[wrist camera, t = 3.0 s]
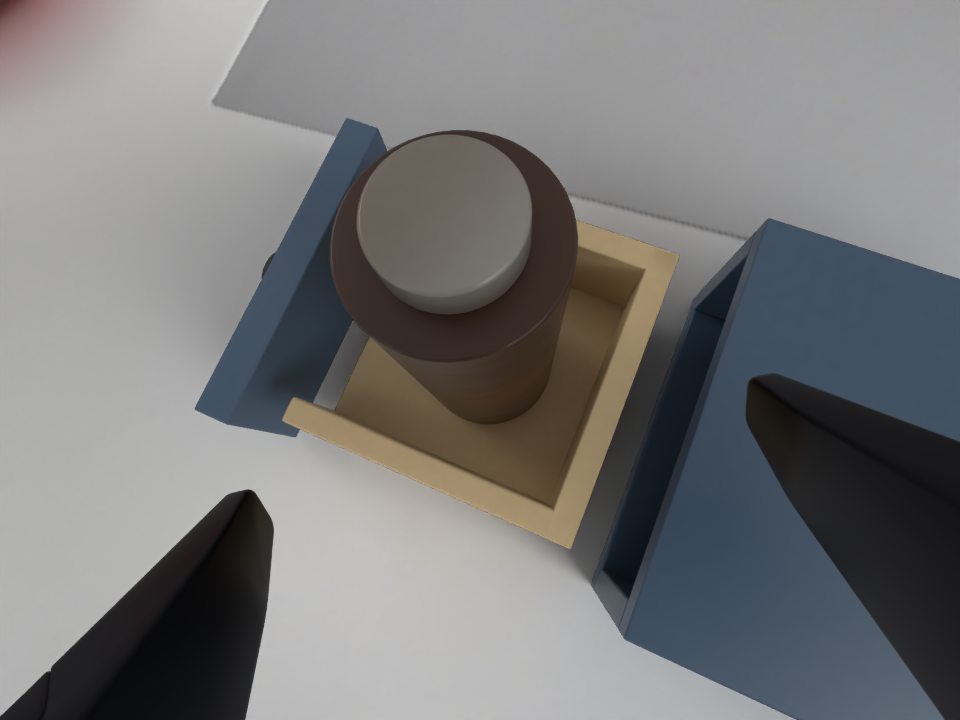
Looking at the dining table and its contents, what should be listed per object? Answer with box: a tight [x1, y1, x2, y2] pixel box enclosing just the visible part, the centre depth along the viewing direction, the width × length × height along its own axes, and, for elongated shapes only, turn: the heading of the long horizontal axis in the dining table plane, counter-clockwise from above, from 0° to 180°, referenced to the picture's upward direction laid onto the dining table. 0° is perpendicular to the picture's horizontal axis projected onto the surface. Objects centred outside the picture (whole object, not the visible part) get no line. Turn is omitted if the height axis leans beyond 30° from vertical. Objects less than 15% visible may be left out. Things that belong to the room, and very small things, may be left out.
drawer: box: [195, 118, 679, 549], centre depth 18 cm, size 13×10×5 cm
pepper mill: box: [330, 130, 578, 424], centre depth 14 cm, size 4×4×11 cm
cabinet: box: [591, 219, 960, 720], centre depth 16 cm, size 13×12×7 cm
